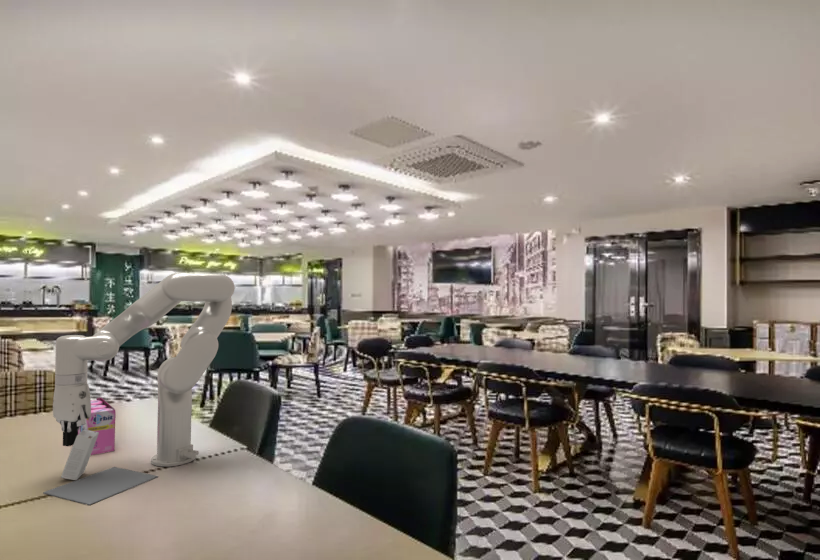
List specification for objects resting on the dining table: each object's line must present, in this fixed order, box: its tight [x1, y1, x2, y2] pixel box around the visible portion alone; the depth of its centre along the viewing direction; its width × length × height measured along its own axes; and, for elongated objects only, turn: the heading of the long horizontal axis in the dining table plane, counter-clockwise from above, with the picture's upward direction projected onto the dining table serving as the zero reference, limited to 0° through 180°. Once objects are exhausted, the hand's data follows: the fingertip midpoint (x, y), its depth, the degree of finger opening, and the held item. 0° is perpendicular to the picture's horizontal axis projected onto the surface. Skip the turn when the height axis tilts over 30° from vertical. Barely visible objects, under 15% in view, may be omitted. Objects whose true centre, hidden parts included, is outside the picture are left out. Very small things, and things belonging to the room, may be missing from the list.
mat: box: [42, 466, 159, 506], centre depth 135 cm, size 18×20×1 cm
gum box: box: [78, 396, 117, 456], centre depth 169 cm, size 24×8×14 cm, turn 41°
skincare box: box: [60, 430, 99, 481], centre depth 141 cm, size 6×4×12 cm
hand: (70, 444), depth 141 cm, fingers closed
